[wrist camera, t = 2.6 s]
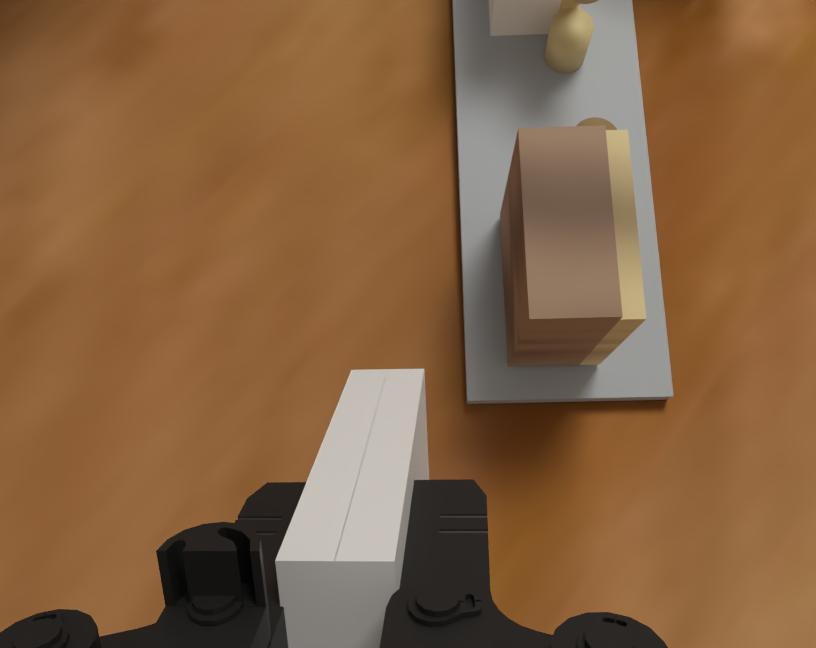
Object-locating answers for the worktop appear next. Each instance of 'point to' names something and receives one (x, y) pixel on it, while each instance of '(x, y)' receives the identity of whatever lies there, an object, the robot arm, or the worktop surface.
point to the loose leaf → (570, 245)
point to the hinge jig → (489, 167)
